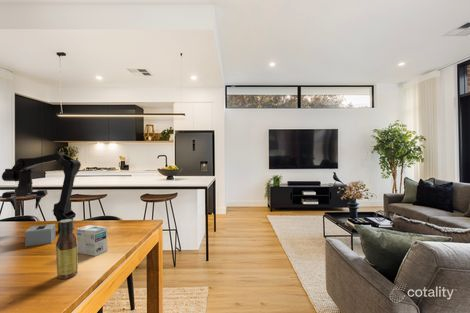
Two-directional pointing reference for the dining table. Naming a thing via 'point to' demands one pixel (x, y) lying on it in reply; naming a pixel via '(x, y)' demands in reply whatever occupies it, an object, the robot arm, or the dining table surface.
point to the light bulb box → (91, 240)
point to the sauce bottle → (66, 250)
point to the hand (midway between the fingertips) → (26, 209)
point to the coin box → (40, 235)
